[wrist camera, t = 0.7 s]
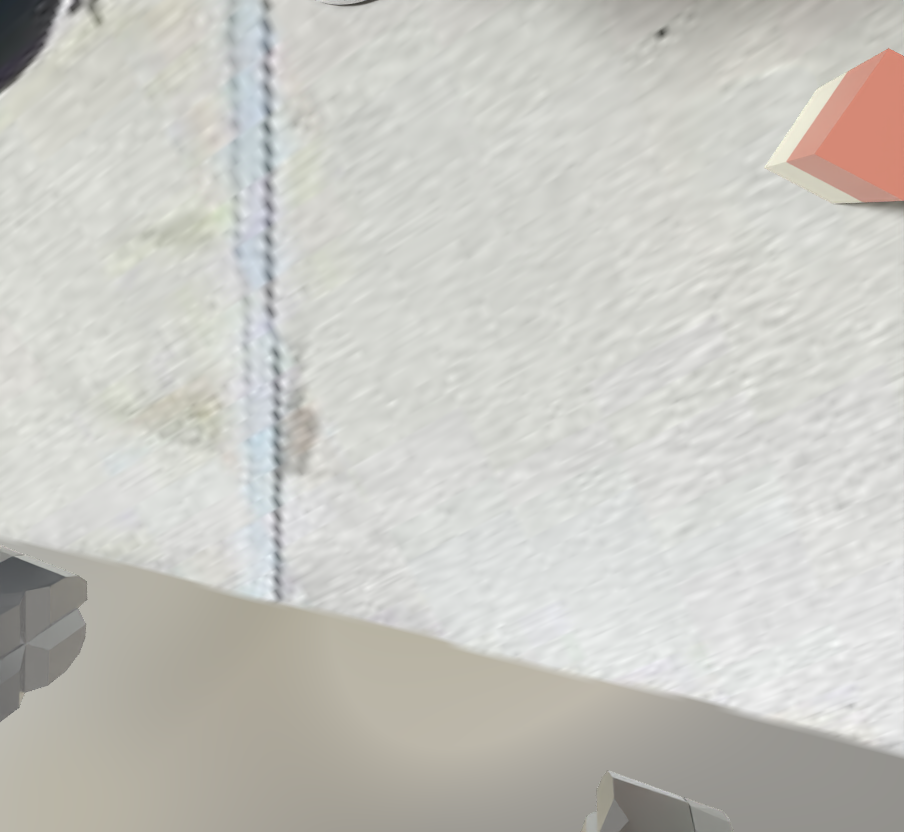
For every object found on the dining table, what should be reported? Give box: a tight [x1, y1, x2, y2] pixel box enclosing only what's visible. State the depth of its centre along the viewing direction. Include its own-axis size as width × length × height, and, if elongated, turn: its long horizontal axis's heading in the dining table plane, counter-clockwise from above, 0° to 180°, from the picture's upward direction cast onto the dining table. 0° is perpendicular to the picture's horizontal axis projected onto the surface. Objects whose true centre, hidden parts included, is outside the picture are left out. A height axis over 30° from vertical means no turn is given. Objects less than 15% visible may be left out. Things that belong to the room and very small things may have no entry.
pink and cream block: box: [764, 48, 904, 204], centre depth 30 cm, size 5×5×9 cm
